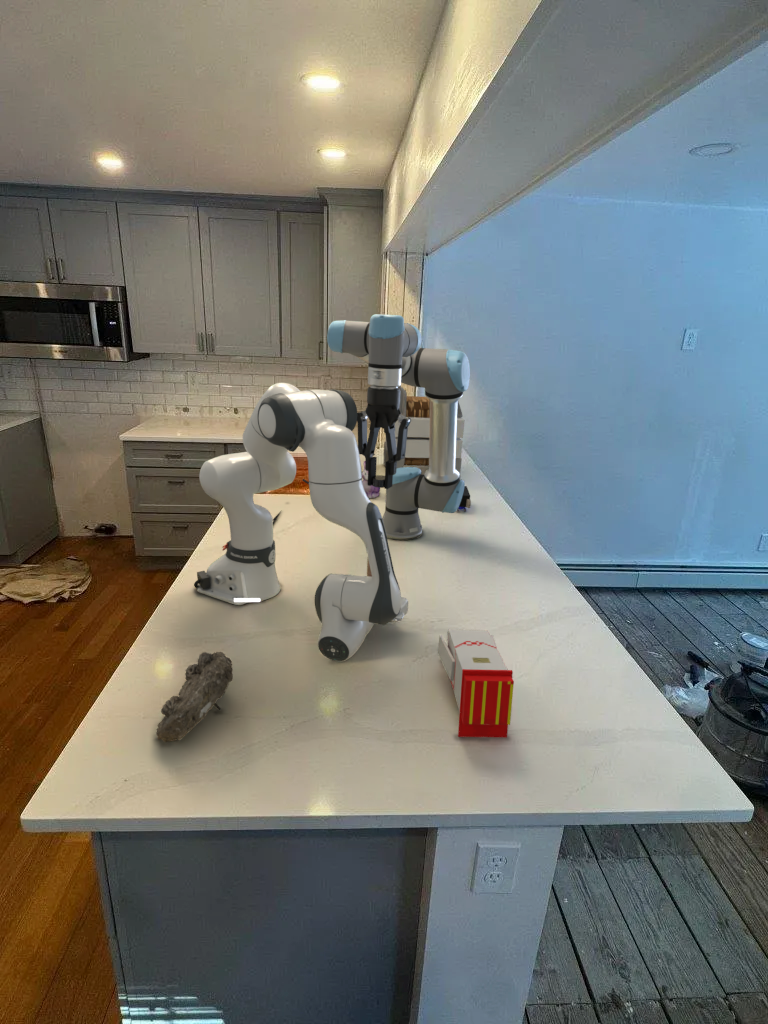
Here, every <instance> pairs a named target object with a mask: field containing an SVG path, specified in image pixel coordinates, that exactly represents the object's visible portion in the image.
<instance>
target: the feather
mask: <svg viewBox="0 0 768 1024" xmlns="http://www.w3.org/2000/svg"><path fill="white" fill-rule="evenodd" d="M281 512H282V510H280V512H279V513H277V514H276V516H275V517H273V526H274V525H275V523H276V521H277V520H278V518H279V516H280V514H281Z"/></svg>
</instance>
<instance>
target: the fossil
mask: <svg viewBox="0 0 768 1024" xmlns="http://www.w3.org/2000/svg"><path fill="white" fill-rule="evenodd" d="M196 662H197V663H193V664H189V665H188V666H187V668H186V669H185V673H184V676H185V677H184V678H185V681H184V683H183V684H182V685H181V688H180V690H179V692H178V695H173V696H172V697H170V699H168V700H166V701H165V703H164V704H163V705H162V707H161V710H160V712H161V714H162V715H163V718H162V719H161V721H159V722H158V723H157V728H156V732H155V733H156V736H157V740H162V741H163V742H164V743H170V742H174V741H181V740H182V739H183V738H184V737H185V736H186V735H187V734H188V733H189V732H191V731H192V730H193V729H194V728H195V727H196V726H197V725H198V724H199V723H200V722H201V721H202V720H203V719H205V718H206V716H207V715H208V712H209V711H210V710H212V709H213V707H215V708H216V709H217V711H221V710H222V707H220V705H218V704H217V701H218V700H219V699H221V698H222V697H223V696H224V695H225V693H226V689H228V687H229V685H230V683H231V682H233V680H234V679H233V678H234V674H233V671H234V670H233V662H232V659H231V658H230V657H228V656H227V655H226V653H224V652H223V651H216V652H215V651H214V652H212V653H211V652H206V651H204V652H203V651H202V652H201V653H200V654H199V656H198V658H197V661H196Z"/></svg>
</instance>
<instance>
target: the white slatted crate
mask: <svg viewBox="0 0 768 1024" xmlns="http://www.w3.org/2000/svg"><path fill="white" fill-rule="evenodd" d="M398 388H399V389H400V390H401V392H400V405H399V409H400V412H401V415H403V416H404V417H406V418H408V417H409V418H411V422H410V424H409V426H408V432H407V442H406V452H405V458H404V459H402V460H399V461H397V468H403V467H405V466H406V467H417V466H418V467H429V432H430V400H429V399H428V398H427V397H426V396H415V395H414V396H413V395H412V396H411V395H407V394H408V393H407V390H406V389H404V388H403V387H402V385H400V386H398ZM399 426H400V425H399V420H397V421H396V423H395V439H396V447H397V441H398V431H399ZM464 429H465V419H464V418H463V411H462V408H461V405H460V402H459V401H458V407H457V432H456V457H455V469H456V470H457V471H458V472H459V480H461V472H462V461H463V460H462V453H463V442H464V441H463V440H462V439H463V438H464V431H465V430H464ZM388 460H389V458H388V450H387V442H386V437H385V438H384V442H383V466H384V467H385V465H386V462H387V461H388ZM397 468H396V469H397Z"/></svg>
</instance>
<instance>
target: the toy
mask: <svg viewBox="0 0 768 1024" xmlns="http://www.w3.org/2000/svg"><path fill="white" fill-rule="evenodd" d="M446 640H447V643H446V641H445V639H444V636H443V635H442V634H439V637H438V646H437V656H438V657H439V659H440V661H441V663H442V666H443V668H444V670H445V672H446V674H447V677H448V679H449V681H450V684H451V687H452V690H453V693H454V697H455V701H456V705H457V708H458V711H459V714H458V715H459V716H458V730H457V731H458V732H457V737H458V738H508V731H509V726H510V725H511V717H512V707H513V697H514V696H513V695H514V684H515V680H514V679H513V673H514V671H513V670H512V669H508V667H507V665H506V662H505V661H504V659H503V658H502V655H501V653H500V651H499V649H498V647H497V643H496V639H495V637H494V635H493V634H491V632H490V631H489V629H467V628H466V629H465V628H463V629H461V628H460V629H459V628H448V630H447V639H446Z"/></svg>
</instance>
